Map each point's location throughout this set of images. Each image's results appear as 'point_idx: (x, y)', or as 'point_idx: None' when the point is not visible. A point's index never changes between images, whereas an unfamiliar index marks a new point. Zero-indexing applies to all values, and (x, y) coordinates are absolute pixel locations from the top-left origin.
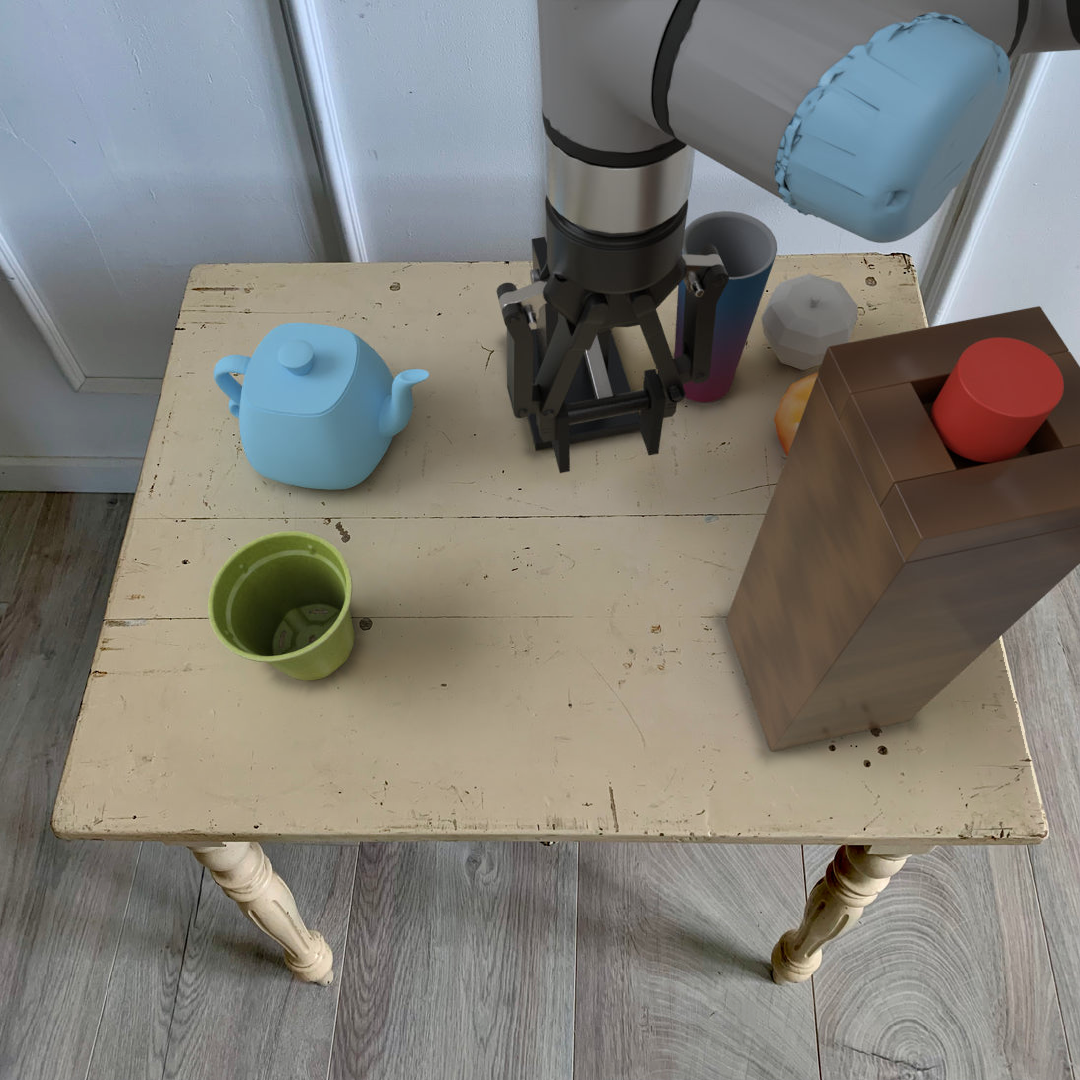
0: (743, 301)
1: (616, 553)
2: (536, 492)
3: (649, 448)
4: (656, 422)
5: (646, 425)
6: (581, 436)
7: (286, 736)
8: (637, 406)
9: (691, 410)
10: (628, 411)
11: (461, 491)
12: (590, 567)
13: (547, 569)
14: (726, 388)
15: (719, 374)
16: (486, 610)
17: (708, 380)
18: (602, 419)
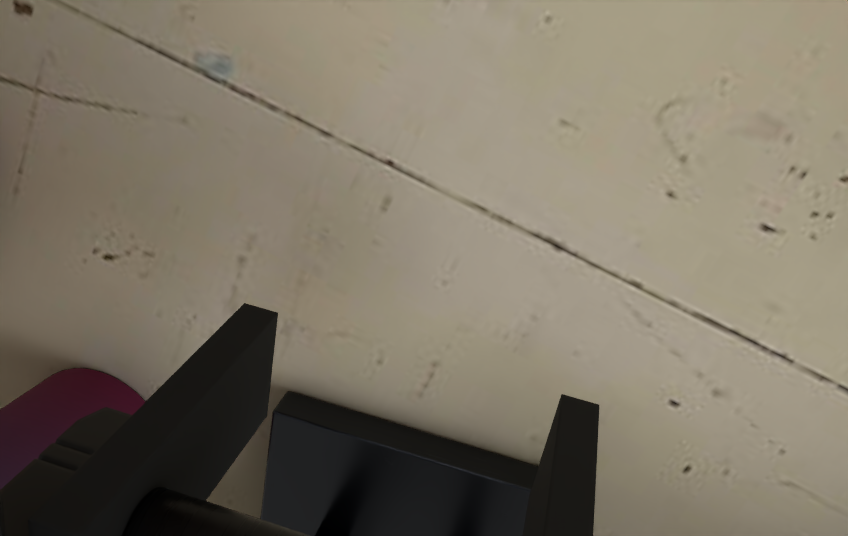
0: None
1: (520, 84)
2: (635, 372)
3: (259, 333)
4: (162, 419)
5: (225, 417)
6: (438, 453)
7: None
8: (191, 533)
9: (151, 374)
10: (240, 529)
11: (835, 478)
12: (621, 75)
13: (753, 131)
14: (44, 384)
15: (14, 432)
16: None
17: (54, 429)
18: (365, 467)
